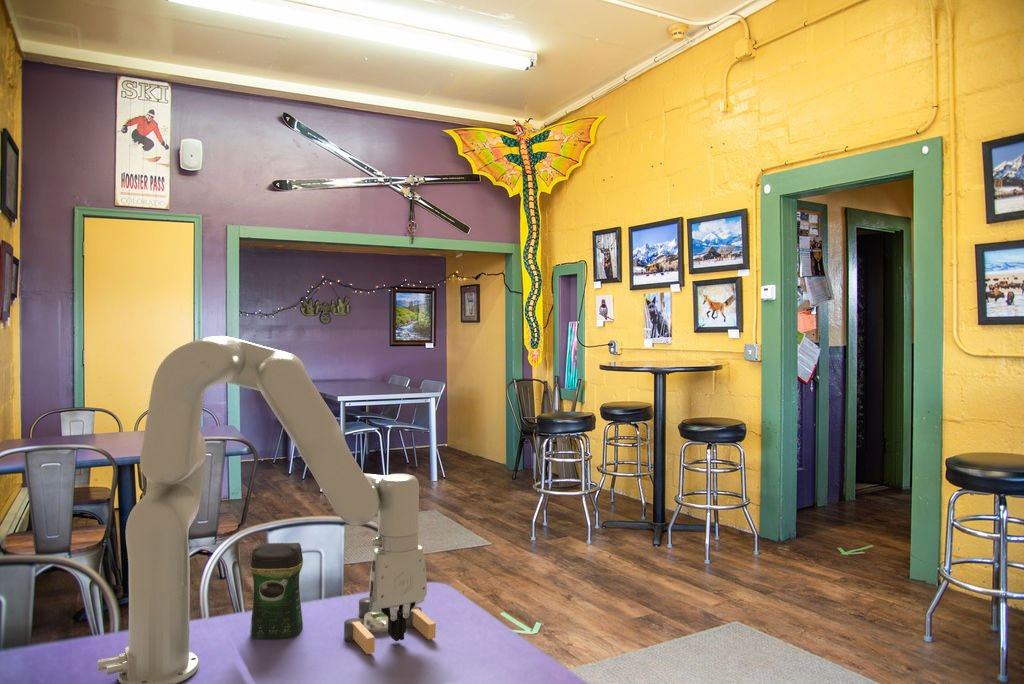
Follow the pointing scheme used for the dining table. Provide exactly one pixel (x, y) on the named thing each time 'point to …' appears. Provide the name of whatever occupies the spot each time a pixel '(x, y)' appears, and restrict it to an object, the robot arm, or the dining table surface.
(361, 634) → the knob left
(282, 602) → the coffee jar
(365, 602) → the knob back
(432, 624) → the knob right
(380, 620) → the level plate
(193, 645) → the dining table surface
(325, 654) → the dining table surface
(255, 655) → the dining table surface
